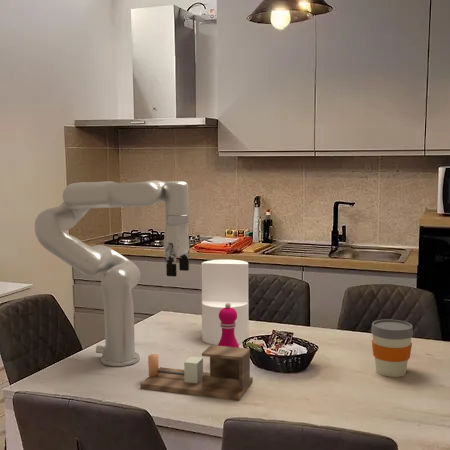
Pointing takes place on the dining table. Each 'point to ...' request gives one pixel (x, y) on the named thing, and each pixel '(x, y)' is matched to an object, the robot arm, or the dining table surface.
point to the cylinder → (224, 298)
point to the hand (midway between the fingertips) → (178, 273)
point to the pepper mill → (228, 326)
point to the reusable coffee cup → (391, 346)
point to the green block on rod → (191, 372)
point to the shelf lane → (210, 375)
